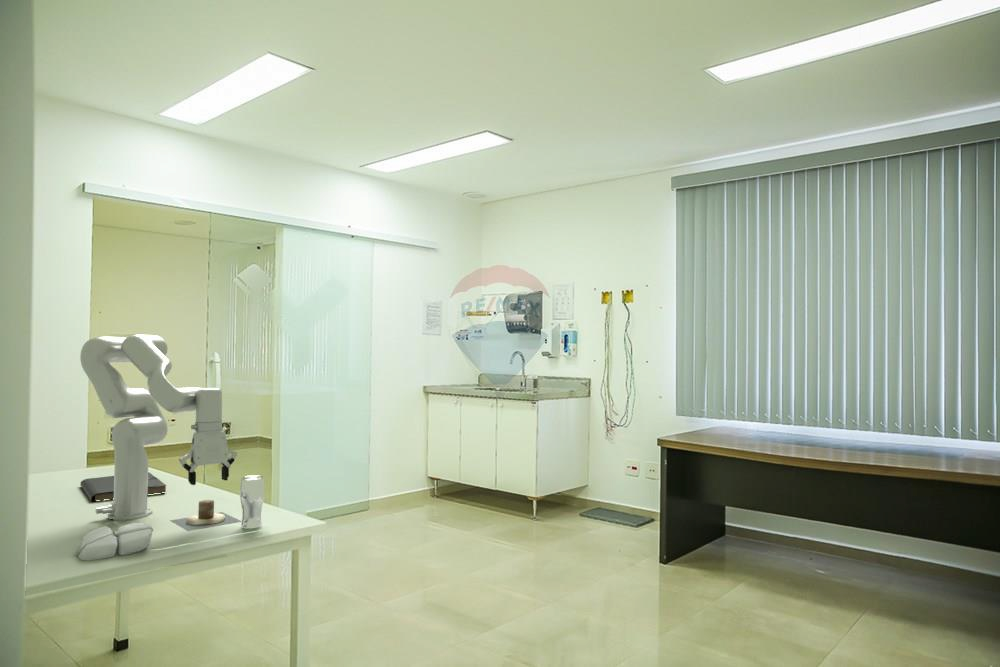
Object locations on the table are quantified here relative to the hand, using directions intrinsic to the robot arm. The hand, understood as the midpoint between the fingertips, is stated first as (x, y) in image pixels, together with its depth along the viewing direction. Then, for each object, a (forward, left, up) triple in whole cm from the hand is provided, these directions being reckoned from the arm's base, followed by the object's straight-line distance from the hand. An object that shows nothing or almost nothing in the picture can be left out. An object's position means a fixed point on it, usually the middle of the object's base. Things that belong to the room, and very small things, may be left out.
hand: (208, 482), depth 200 cm
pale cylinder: (+8, -14, -13) cm, 21 cm away
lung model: (-28, -7, -13) cm, 31 cm away
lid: (0, +1, -12) cm, 12 cm away
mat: (0, +1, -13) cm, 12 cm away
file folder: (-6, +70, -13) cm, 71 cm away
